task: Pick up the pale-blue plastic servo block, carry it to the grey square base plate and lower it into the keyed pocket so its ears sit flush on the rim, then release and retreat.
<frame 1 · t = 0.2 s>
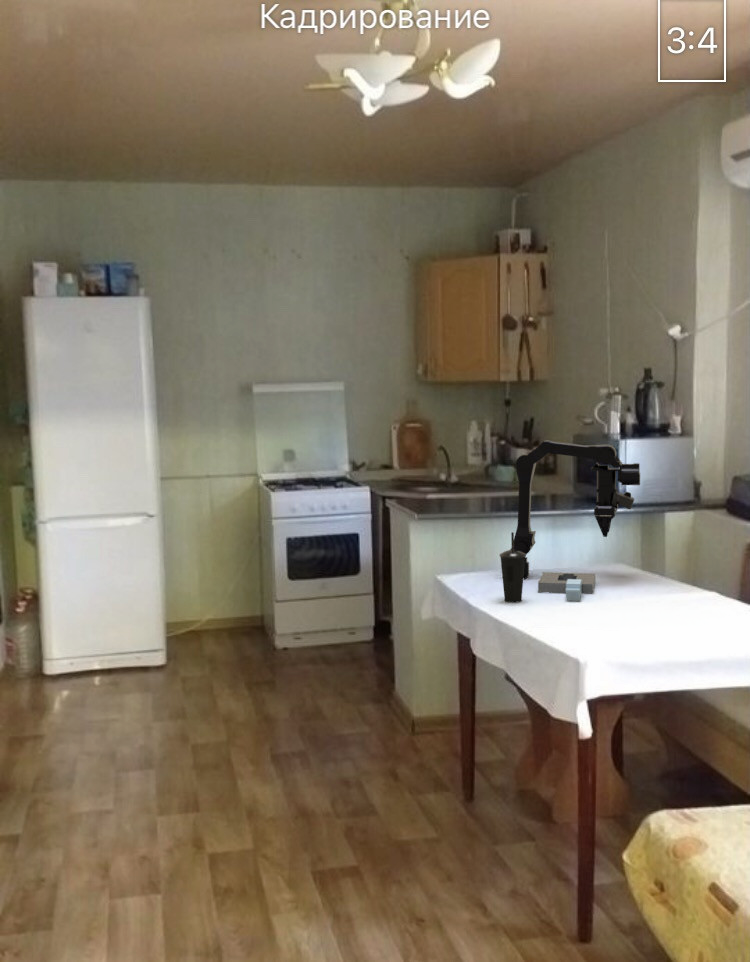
hand: (606, 534, 327), 15 cm above the table, fingers open, 9 cm apart
drinking cup: (513, 601, 303), on the table
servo: (574, 598, 305), on the table
grey square base plate: (567, 587, 319), on the table
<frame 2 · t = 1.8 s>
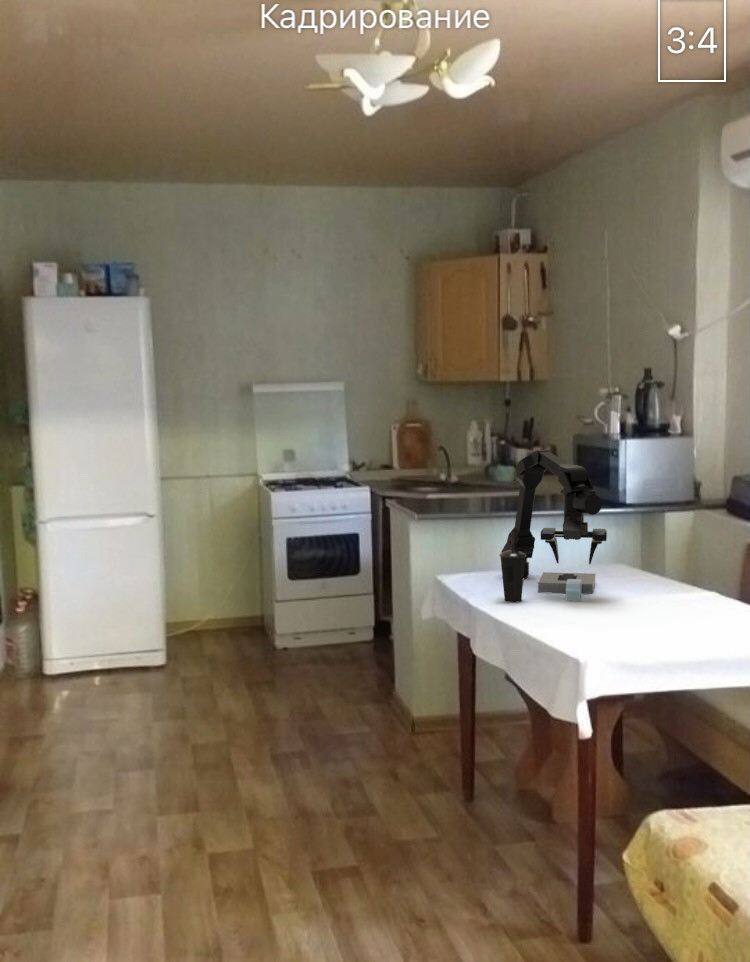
hand: (573, 563, 304), 10 cm above the table, fingers open, 9 cm apart
nothing on the table moved.
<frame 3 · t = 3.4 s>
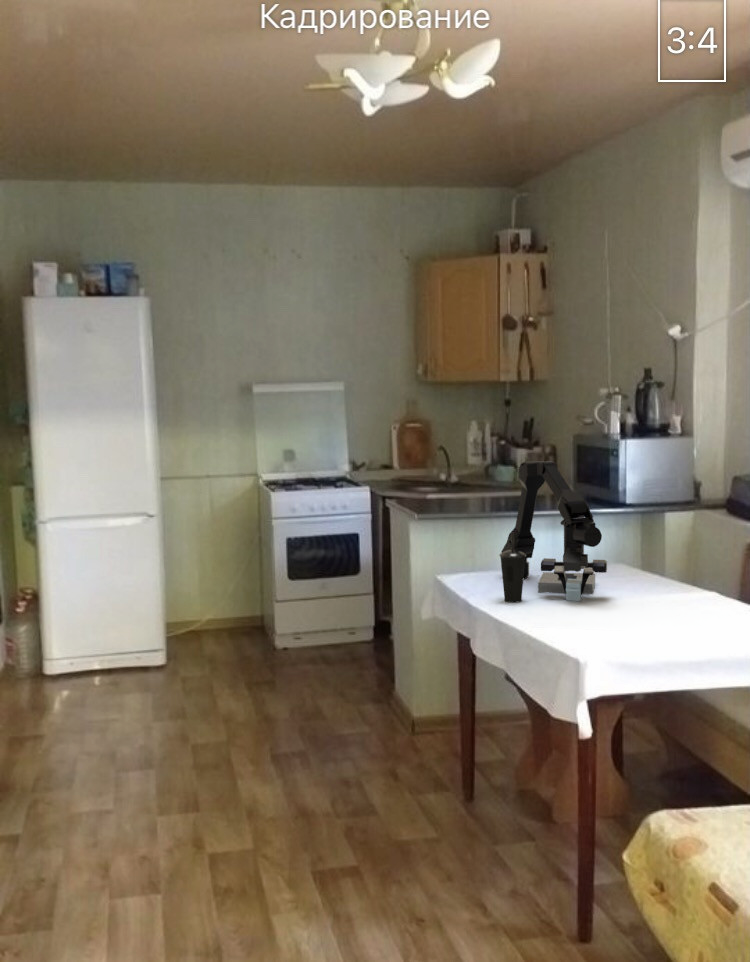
hand: (573, 594, 305), 1 cm above the table, fingers closed on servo, 4 cm apart
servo: (574, 598, 305), on the table, touching gripper
everything else where it was.
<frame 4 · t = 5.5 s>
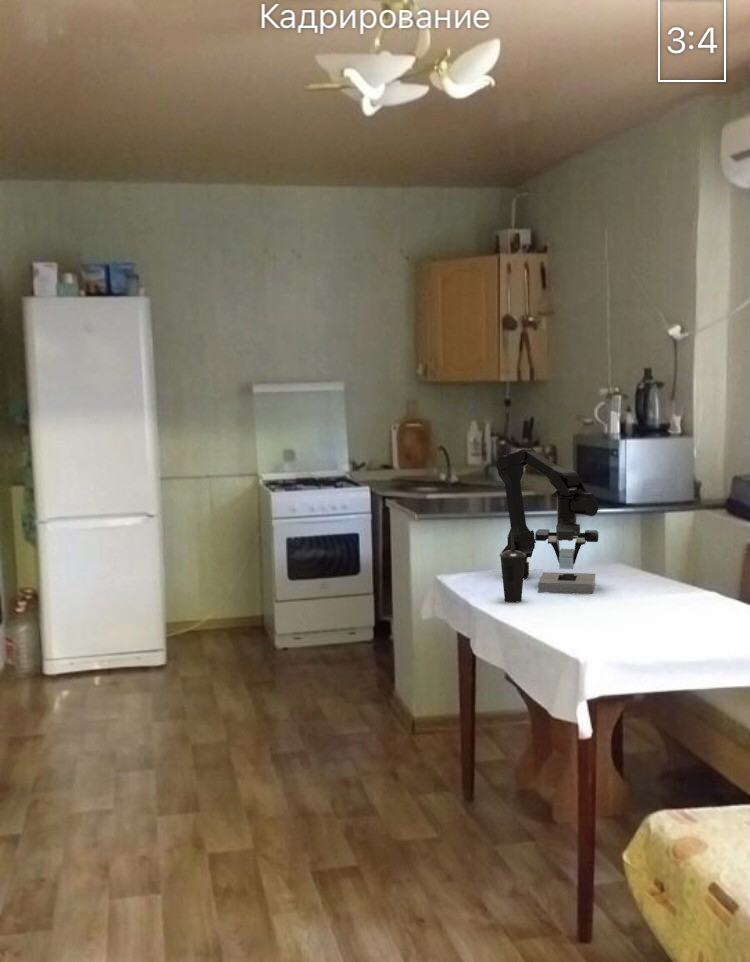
hand: (566, 563, 318), 7 cm above the table, fingers closed on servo, 4 cm apart
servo: (566, 566, 318), point 6 cm above the table, touching gripper
everything else where it was.
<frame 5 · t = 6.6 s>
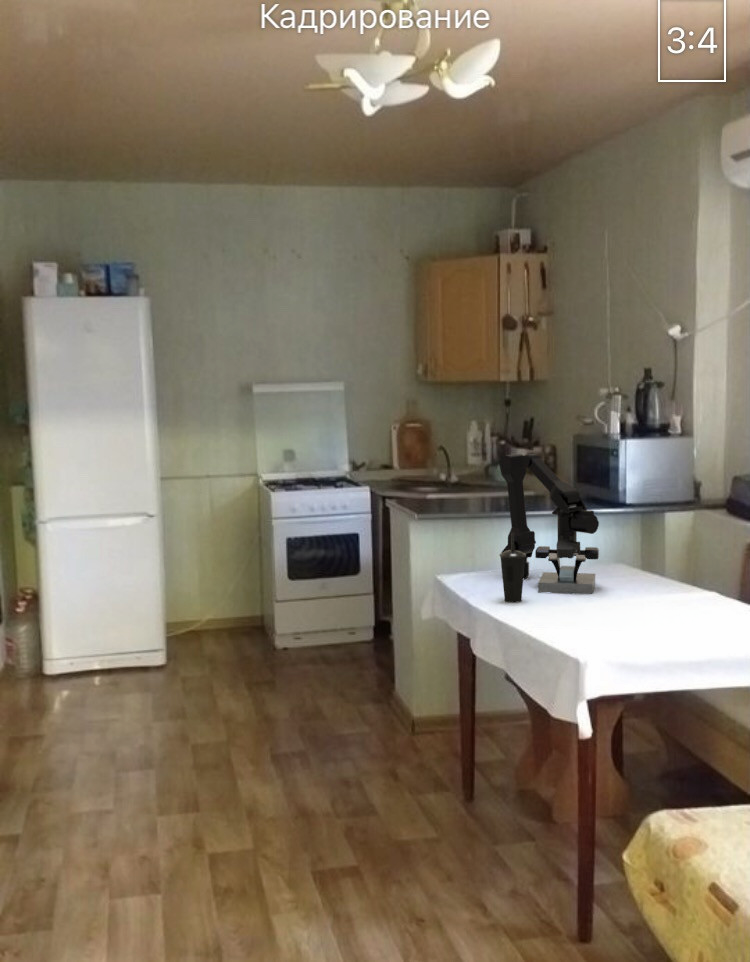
hand: (567, 580, 319), 2 cm above the table, fingers closed on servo, 4 cm apart
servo: (567, 584, 319), point 1 cm above the table, touching gripper
everything else where it was.
when the fingers open (2 cm above the table, at t = 7.8 s): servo drops 1 cm, resting on grey square base plate.
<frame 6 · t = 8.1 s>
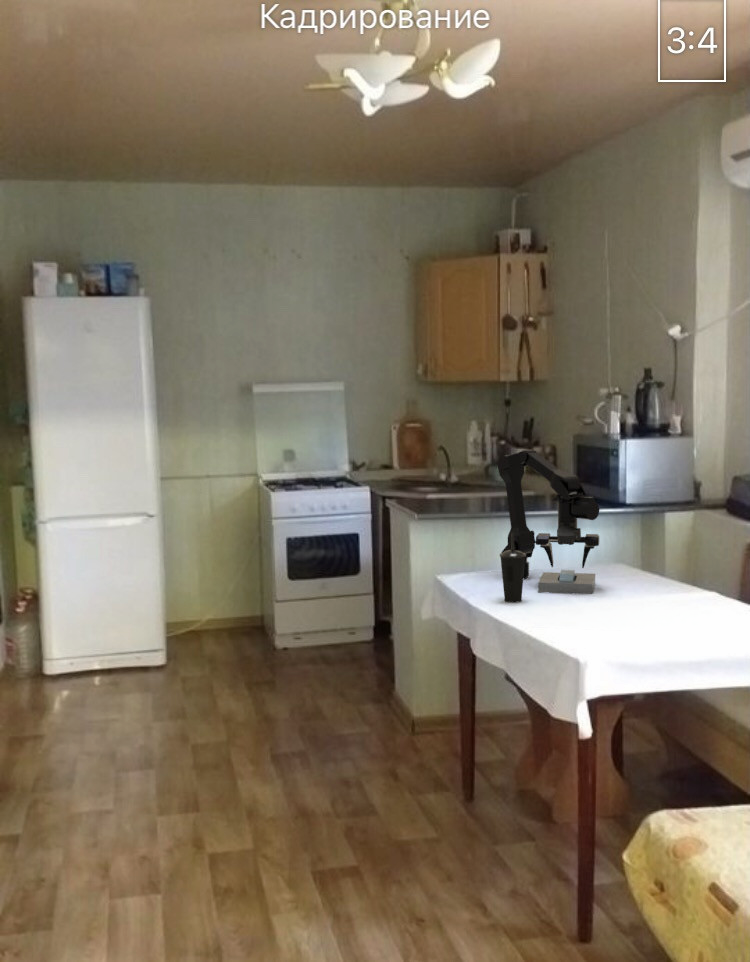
hand: (567, 567, 318), 6 cm above the table, fingers open, 9 cm apart
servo: (567, 587, 319), resting on grey square base plate
everything else where it was.
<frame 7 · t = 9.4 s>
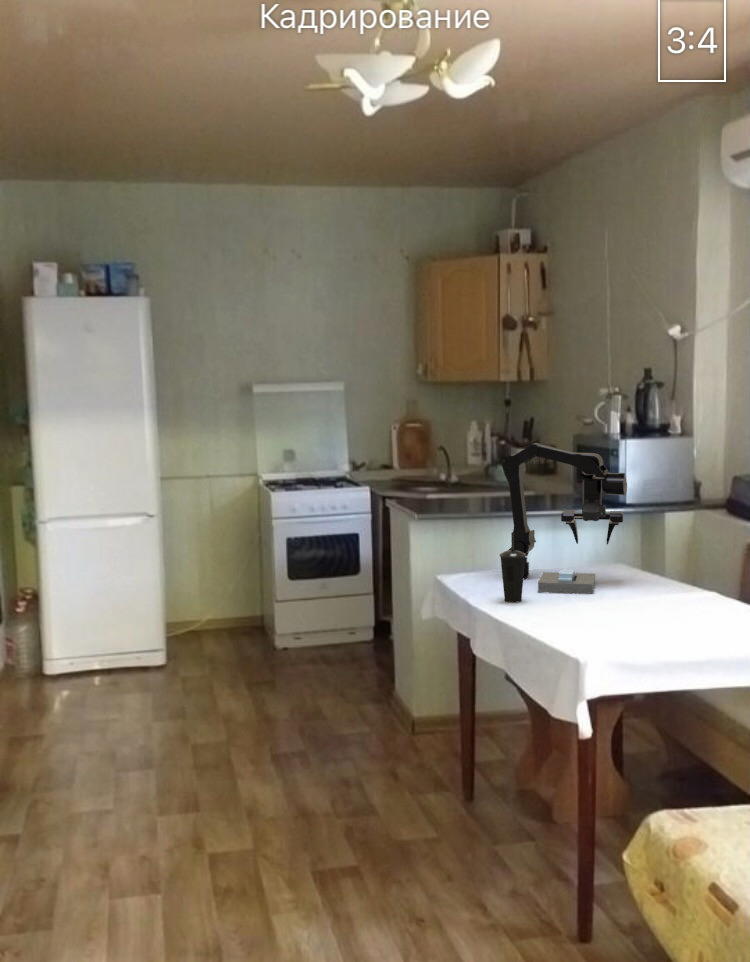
hand: (592, 543, 326), 12 cm above the table, fingers open, 9 cm apart
nothing on the table moved.
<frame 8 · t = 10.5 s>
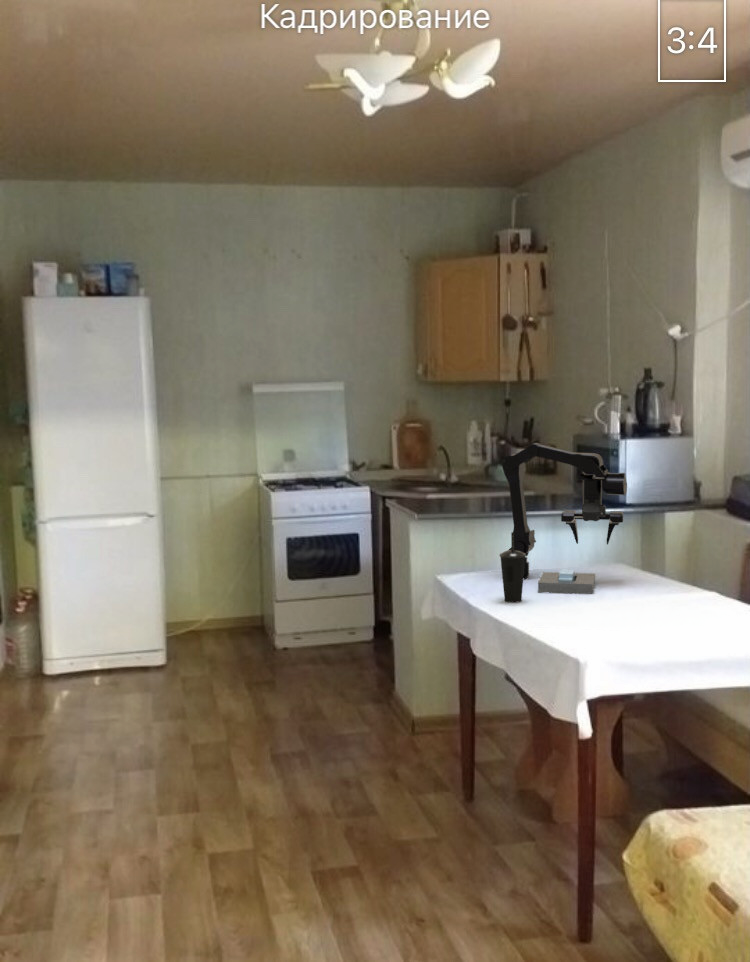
hand: (592, 543, 326), 12 cm above the table, fingers open, 9 cm apart
nothing on the table moved.
at the end: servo 0.1 cm off-centre on the grey square base plate, point 0.0 cm above the grey square base plate's base; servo tilted 0°; the gripper is holding nothing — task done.
